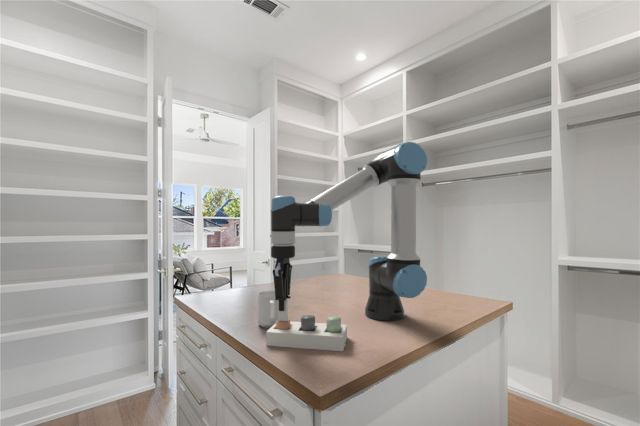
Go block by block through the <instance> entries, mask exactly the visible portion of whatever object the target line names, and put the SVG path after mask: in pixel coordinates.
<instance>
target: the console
mask: <svg viewBox="0 0 640 426" xmlns="http://www.w3.org/2000/svg"><path fill="white" fill-rule="evenodd" d="M265 335H266V336H265V338H266V339H265V340H266V342H265V343H266V344H265V346H268V347H277V348H278V347H280V348H293V349H294V348H295V349H306V350H307V349H308V350H321V351H333V352H334V351H335V352H344V349H345V346H346V343H347V339H348V324H344V323H341V333H329V332H326V322H315V331H314V332H313V331H301V321H291V320H290V329H289V330H281V329H276V323H275V324H274V325H273V326H272V327H271V328H268V330H266V332H265Z"/></svg>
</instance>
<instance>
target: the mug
mask: <svg viewBox="0 0 640 426" xmlns="http://www.w3.org/2000/svg"><path fill="white" fill-rule="evenodd" d="M277 320H278V300H275V290H264V291H261V292H258V294H257V324H259V326H260V327H262V328H266V329H270V328H271V327H272V326H273V325H274V324H275V323H276V321H277Z"/></svg>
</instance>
